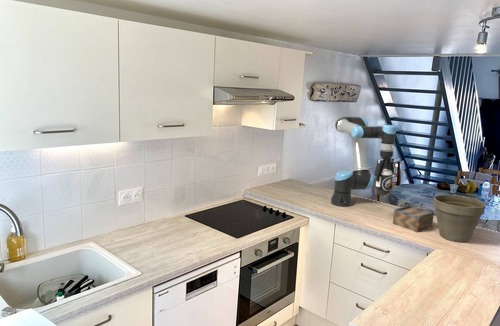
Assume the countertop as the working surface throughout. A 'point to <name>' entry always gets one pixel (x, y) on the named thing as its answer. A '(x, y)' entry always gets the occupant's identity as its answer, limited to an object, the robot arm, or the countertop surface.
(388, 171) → the coffee cup
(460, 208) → the plant pot
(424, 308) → the countertop surface
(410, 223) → the wooden box
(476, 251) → the countertop surface
